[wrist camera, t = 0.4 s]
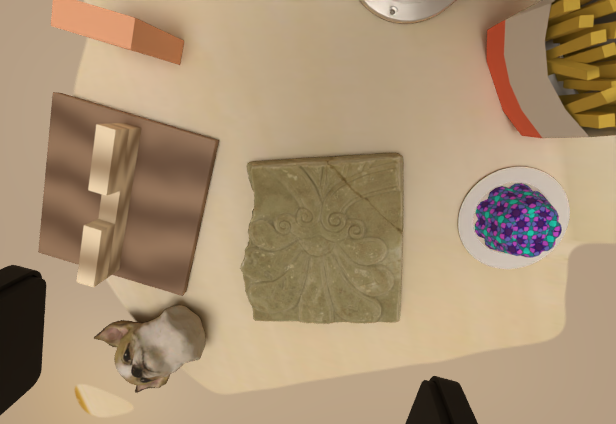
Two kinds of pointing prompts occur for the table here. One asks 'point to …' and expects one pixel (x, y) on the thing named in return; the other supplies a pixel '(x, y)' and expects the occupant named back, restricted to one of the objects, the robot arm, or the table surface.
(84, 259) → the slotted stand
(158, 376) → the ceramic sculpture
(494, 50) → the french fries container
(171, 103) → the table surface
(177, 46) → the notched plate
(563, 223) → the pudding
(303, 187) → the decorative tile
